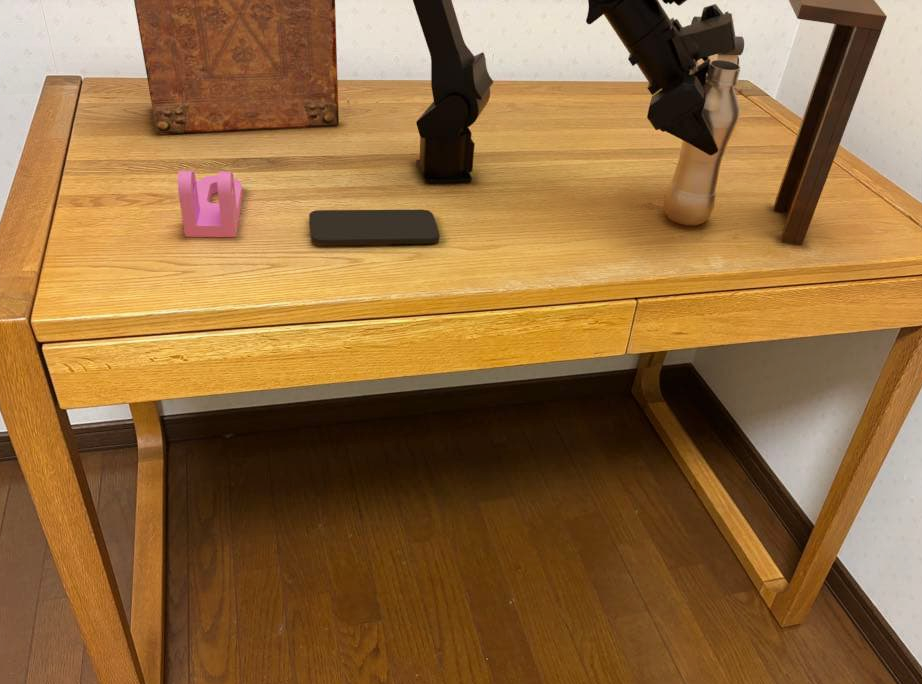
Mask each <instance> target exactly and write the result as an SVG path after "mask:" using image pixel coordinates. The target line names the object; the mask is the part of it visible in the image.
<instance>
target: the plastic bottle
mask: <svg viewBox="0 0 922 684" xmlns="http://www.w3.org/2000/svg"><path fill="white" fill-rule="evenodd" d="M740 72H741V66H740V64H739V65H738V64H736V63H733V62H730V61H725V60H714V61H711V63H710V65H709V69H708V73H707V74H706V77H705V78H706V80H707V83H706V84H705V85H704V86H703V89H704V93H705V92H706V101H705V104H704V108H703V114H704V116H705V118H706V121H707V123H708V125H709V128H710V130H711V132H712V135H713V137H714V140H715V142H716V145H717V147H718V152H717V153H715V154H713V155H711V156H710V155H708V154H706V153H705V152H703V151H701V150H699V149H698V148H696V147H694V146H692V145H691V144H689V143H687V142H685V141H683V140H682V143H681V149H680V153H679V158H678V161H677V164H676V167H675V170H674V173H673V176H672V179H671V181H670V183H669V185H668V187H667V190H666V193H665V195H664V200H663V201H664V202H663V204H664V205H663V209H664V212H665V214H666V216H667V217H668V219H670V221H673V222H675V223H676V224H680V225H685V226H699V225H702V224H704V223H705V222H706V221H707V220H708V219H709V218H710V216H711V215H712V212H713V211H714V208H715V204H716V203H715V202H716V196H717V184H718V179H719V174H720V170H721V165H722V162H723V159H724V156H725V153H726V150H727V148H728V147H727V146H728V144H729V142H730V140H731V137H732V134H733V133H734V130H735V128H736V125H737V123H738V121H739V118H740V115H741V106H740V101H739V98H738V96H737V93H736V91H735V86H737V85H738V83H739V76H740Z"/></svg>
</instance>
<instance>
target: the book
mask: <svg viewBox="0 0 922 684" xmlns="http://www.w3.org/2000/svg"><path fill="white" fill-rule="evenodd" d="M133 3H134V8H135V15H136V19H137V21H136V22H137V25H138V33H139V37H140V43H141V48H142V49H141V50H142V54H143V55H142V56H143V62H144V66H145V72H146V73H145V74H146V79H147V85H148V91H149V96H150V103H151V109H152V113H153V114H152V115H153V119H154V125H155V126H154V127H155V131H156V134H157V135H175V134H176V135H177V134H196V133H197V134H198V133H218V132H219V133H221V132H240V131H241V132H242V131H243V132H244V131H261V130H262V131H264V130H284V129H285V130H286V129H289V130H290V129H307V128H310V129H311V128H328V127H329V128H330V127H331V128H332V127H338V126H339V124H340V119H339V118H340V115H339V113H340V112H339V88H338V87H339V84H338V82H339V81H338V50H337V49H338V48H337V47H338V46H337V20H336V19H337V18H336V16H337V15H336V0H133Z"/></svg>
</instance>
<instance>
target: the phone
mask: <svg viewBox="0 0 922 684" xmlns="http://www.w3.org/2000/svg"><path fill="white" fill-rule="evenodd" d="M308 217H309V220H308V221H309V230H310V239H311V242H312V243H313V244H314V245H318V246H345V245H346V246H353V245H356V246H357V245H359V246H360V245H416V244H417V245H420V244H421V245H422V244H423V245H424V244H428V245H429V244H436V243H438V242H439V241H440V231H439V227H438V225H437V221H436V219H435V217H434V213H433V212H432V211H430V210H427V209H317V210H316V209H315V210H313V211H311V212H309V215H308Z"/></svg>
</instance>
